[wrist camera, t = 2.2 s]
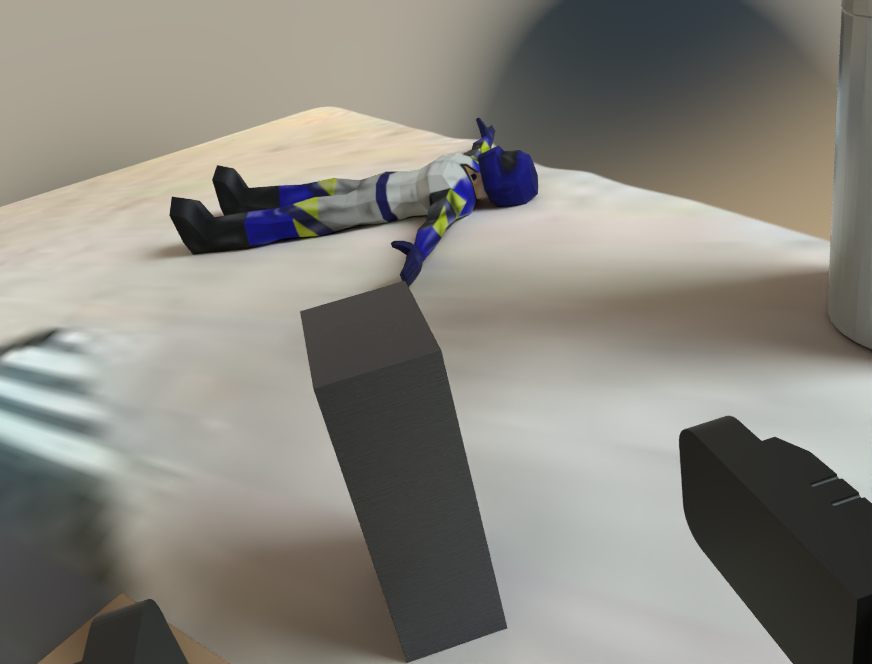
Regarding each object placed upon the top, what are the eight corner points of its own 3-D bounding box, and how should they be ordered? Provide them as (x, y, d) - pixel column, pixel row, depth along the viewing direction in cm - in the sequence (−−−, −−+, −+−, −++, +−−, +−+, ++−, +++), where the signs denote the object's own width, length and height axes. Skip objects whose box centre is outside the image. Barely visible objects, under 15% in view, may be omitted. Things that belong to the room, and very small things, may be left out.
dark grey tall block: (507, 627, 25) (440, 350, 20) (407, 662, 25) (313, 389, 20) (467, 528, 30) (404, 279, 25) (382, 556, 29) (299, 310, 24)
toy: (272, 127, 80) (553, 78, 71) (289, 181, 83) (562, 140, 74) (79, 260, 53) (492, 209, 44) (115, 333, 56) (510, 300, 47)
